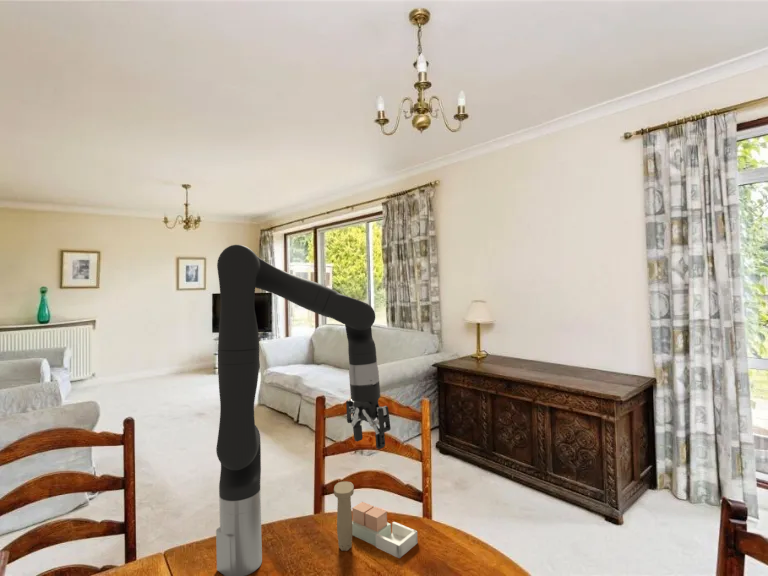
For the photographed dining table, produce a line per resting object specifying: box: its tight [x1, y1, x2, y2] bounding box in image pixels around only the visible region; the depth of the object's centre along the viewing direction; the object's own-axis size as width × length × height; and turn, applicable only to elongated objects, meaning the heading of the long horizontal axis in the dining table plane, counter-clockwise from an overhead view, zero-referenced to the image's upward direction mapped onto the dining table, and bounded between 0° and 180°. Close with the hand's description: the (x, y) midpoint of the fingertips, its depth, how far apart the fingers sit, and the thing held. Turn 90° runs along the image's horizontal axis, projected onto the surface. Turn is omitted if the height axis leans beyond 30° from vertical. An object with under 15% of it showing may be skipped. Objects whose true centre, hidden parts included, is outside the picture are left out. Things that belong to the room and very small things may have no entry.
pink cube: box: [351, 501, 375, 526], centre depth 110 cm, size 4×4×4 cm
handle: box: [333, 481, 355, 552], centre depth 103 cm, size 5×6×15 cm
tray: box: [375, 521, 418, 559], centre depth 104 cm, size 8×7×3 cm
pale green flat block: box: [352, 520, 392, 547], centre depth 109 cm, size 6×9×3 cm, turn 51°
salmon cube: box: [365, 506, 388, 532], centre depth 107 cm, size 4×4×4 cm
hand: (369, 444), depth 105 cm, fingers open, 8 cm apart
